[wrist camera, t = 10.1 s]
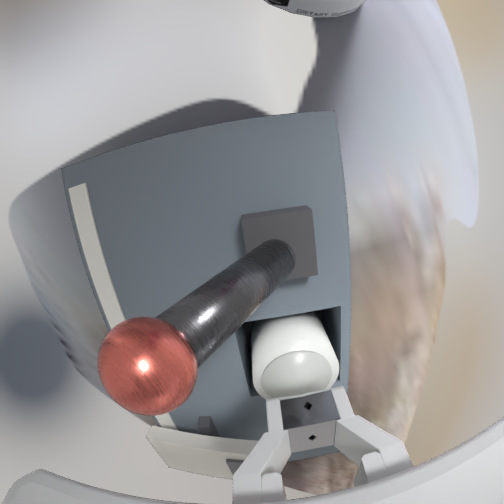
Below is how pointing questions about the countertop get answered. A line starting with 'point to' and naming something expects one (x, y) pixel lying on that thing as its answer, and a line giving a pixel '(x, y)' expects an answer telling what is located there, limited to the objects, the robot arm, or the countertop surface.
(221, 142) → the console
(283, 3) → the supplement can
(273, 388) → the button
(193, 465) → the rocker
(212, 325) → the lever
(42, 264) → the countertop surface
